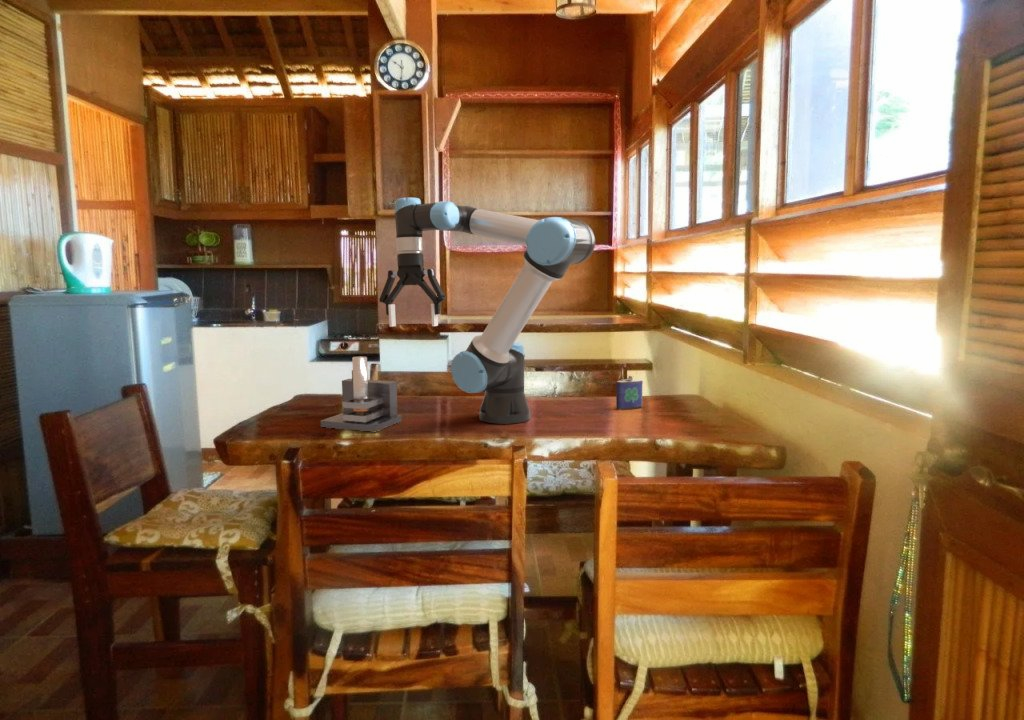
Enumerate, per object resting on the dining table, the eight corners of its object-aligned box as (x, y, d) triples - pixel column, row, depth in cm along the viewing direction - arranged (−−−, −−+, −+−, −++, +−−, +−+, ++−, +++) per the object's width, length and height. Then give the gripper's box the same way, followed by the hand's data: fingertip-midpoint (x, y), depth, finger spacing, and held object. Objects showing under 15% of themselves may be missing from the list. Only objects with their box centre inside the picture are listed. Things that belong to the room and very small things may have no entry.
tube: (372, 419, 194) (370, 356, 191) (364, 422, 190) (361, 358, 188) (359, 418, 195) (357, 356, 193) (351, 421, 192) (348, 358, 189)
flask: (639, 406, 220) (640, 373, 219) (644, 408, 217) (645, 374, 216) (614, 408, 217) (614, 375, 215) (619, 410, 214) (619, 376, 212)
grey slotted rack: (401, 421, 200) (400, 371, 198) (375, 432, 187) (374, 378, 185) (349, 417, 206) (347, 368, 204) (320, 427, 193) (318, 375, 191)
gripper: (455, 251, 197) (458, 324, 200) (377, 254, 205) (381, 325, 207) (444, 250, 190) (448, 326, 193) (365, 254, 197) (369, 327, 200)
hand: (413, 326), depth 200 cm, fingers open, 13 cm apart
